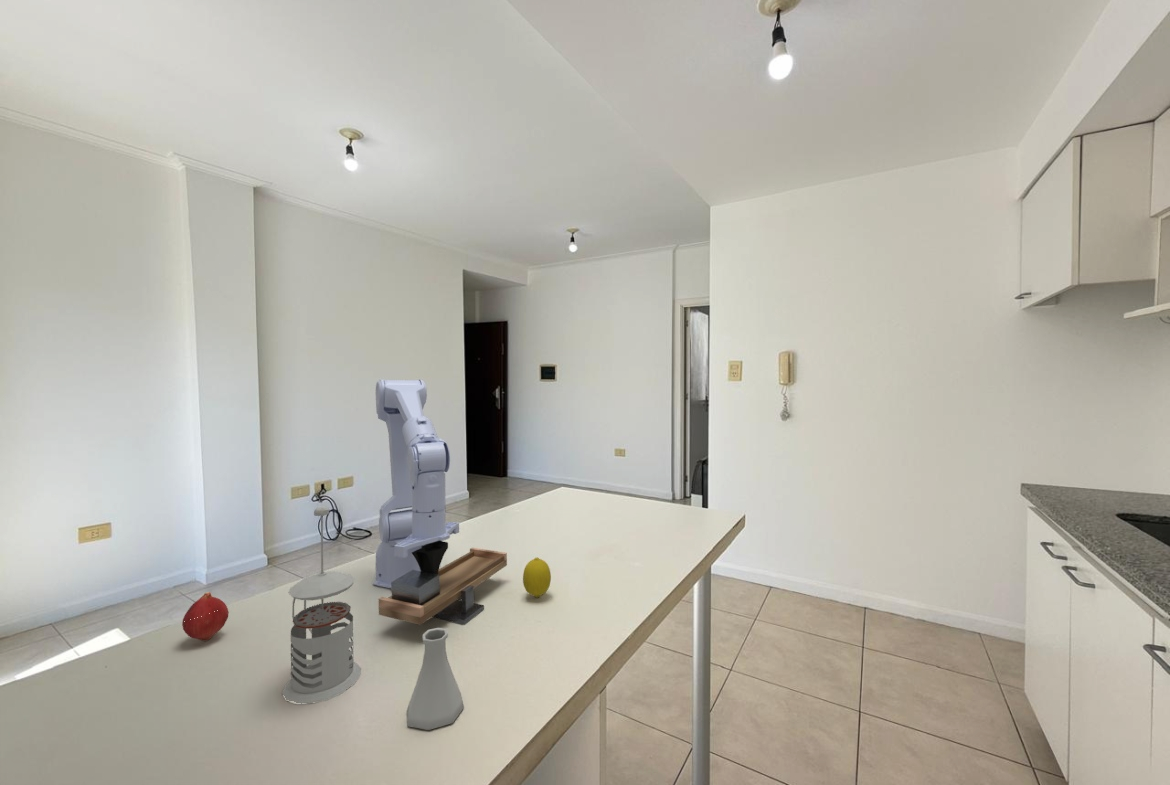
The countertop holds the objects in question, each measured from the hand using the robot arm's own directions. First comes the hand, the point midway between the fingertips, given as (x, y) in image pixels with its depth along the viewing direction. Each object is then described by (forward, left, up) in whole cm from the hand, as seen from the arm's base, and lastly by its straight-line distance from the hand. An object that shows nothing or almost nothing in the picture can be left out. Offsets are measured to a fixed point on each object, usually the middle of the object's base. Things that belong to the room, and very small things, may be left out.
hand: (429, 583), depth 81 cm
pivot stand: (0, +4, -6) cm, 7 cm away
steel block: (0, -3, -2) cm, 4 cm away
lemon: (+14, +15, -7) cm, 21 cm away
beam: (0, +6, -3) cm, 7 cm away
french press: (-3, -19, -7) cm, 21 cm away
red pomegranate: (-30, -19, -7) cm, 36 cm away
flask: (+17, -18, -7) cm, 26 cm away
